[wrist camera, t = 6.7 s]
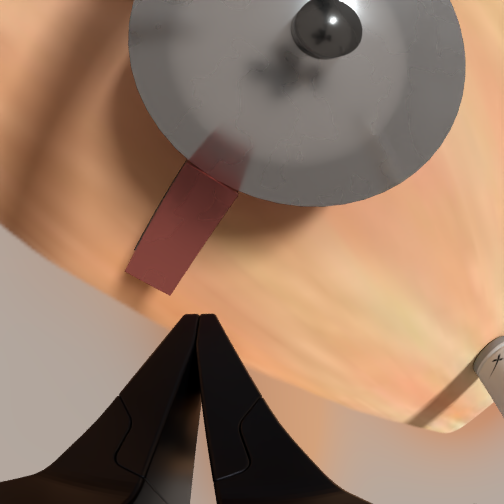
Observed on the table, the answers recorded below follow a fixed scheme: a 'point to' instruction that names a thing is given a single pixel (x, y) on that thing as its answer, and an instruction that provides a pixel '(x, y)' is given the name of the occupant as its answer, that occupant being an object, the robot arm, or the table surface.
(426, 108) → the lid
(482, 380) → the travel mug
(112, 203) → the table surface
